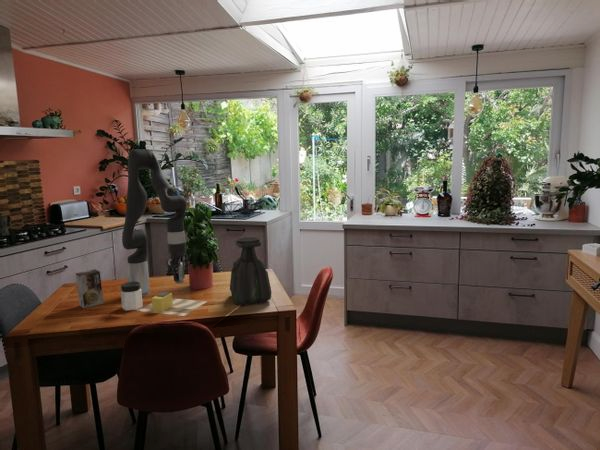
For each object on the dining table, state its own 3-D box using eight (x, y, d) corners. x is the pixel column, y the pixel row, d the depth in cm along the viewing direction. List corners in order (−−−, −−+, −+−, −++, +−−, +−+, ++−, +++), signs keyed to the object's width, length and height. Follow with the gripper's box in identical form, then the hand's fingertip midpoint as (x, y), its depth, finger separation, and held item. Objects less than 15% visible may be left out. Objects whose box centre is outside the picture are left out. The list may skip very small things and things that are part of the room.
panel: (136, 312, 193) (136, 310, 192) (162, 299, 210) (162, 297, 210) (184, 318, 185) (184, 315, 184) (207, 303, 202) (207, 301, 202)
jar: (120, 313, 193) (118, 287, 191) (123, 307, 200) (121, 282, 198) (141, 311, 194) (139, 285, 193) (144, 305, 202) (141, 280, 200)
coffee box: (98, 300, 211) (95, 268, 208) (103, 303, 206) (100, 271, 203) (79, 305, 204) (75, 272, 202) (83, 308, 200) (80, 275, 197)
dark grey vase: (265, 293, 216) (263, 234, 211) (272, 303, 200) (270, 240, 196) (229, 297, 211) (226, 237, 206) (234, 308, 195) (231, 243, 190)
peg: (173, 283, 188) (172, 263, 187) (178, 280, 191) (177, 261, 190) (180, 283, 187) (179, 263, 185) (185, 281, 190) (184, 261, 189)
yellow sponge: (152, 310, 192) (151, 296, 191) (163, 304, 199) (162, 291, 198) (162, 311, 190) (161, 297, 189) (172, 305, 198) (171, 292, 196)
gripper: (174, 245, 178) (177, 285, 181) (193, 238, 192) (195, 276, 194) (159, 244, 181) (162, 283, 184) (178, 238, 194) (181, 275, 197)
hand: (179, 279), depth 189 cm, fingers closed on peg, 3 cm apart
